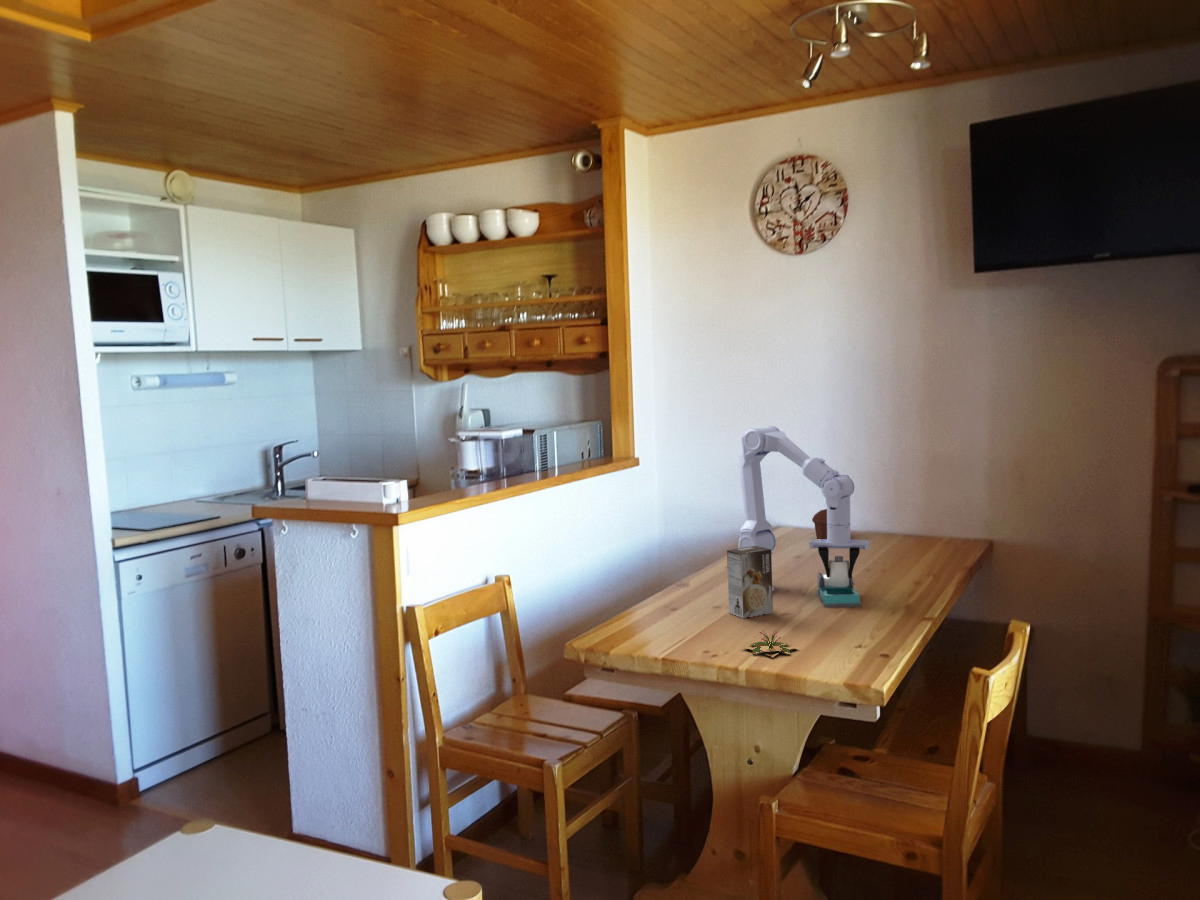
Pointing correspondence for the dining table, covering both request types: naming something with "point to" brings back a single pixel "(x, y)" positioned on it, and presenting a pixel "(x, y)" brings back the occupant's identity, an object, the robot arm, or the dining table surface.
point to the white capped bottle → (839, 572)
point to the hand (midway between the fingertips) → (839, 576)
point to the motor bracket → (836, 593)
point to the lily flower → (769, 643)
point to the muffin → (821, 524)
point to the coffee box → (750, 581)
